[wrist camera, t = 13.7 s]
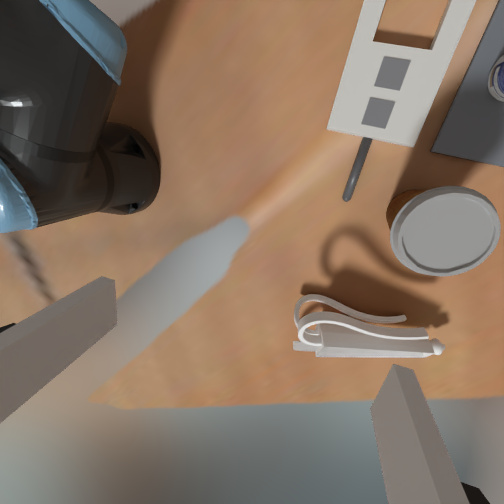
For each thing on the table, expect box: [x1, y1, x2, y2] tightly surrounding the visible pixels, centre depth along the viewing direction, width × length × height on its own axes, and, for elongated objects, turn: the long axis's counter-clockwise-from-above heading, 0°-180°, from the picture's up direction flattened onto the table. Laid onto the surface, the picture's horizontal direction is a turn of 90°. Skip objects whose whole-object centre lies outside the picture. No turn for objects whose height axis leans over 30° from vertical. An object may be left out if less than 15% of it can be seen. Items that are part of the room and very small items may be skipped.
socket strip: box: [327, 0, 476, 202], centre depth 32 cm, size 27×11×2 cm, turn 168°
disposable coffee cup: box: [386, 186, 501, 276], centre depth 31 cm, size 10×10×12 cm
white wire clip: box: [293, 294, 445, 358], centre depth 41 cm, size 17×9×22 cm
